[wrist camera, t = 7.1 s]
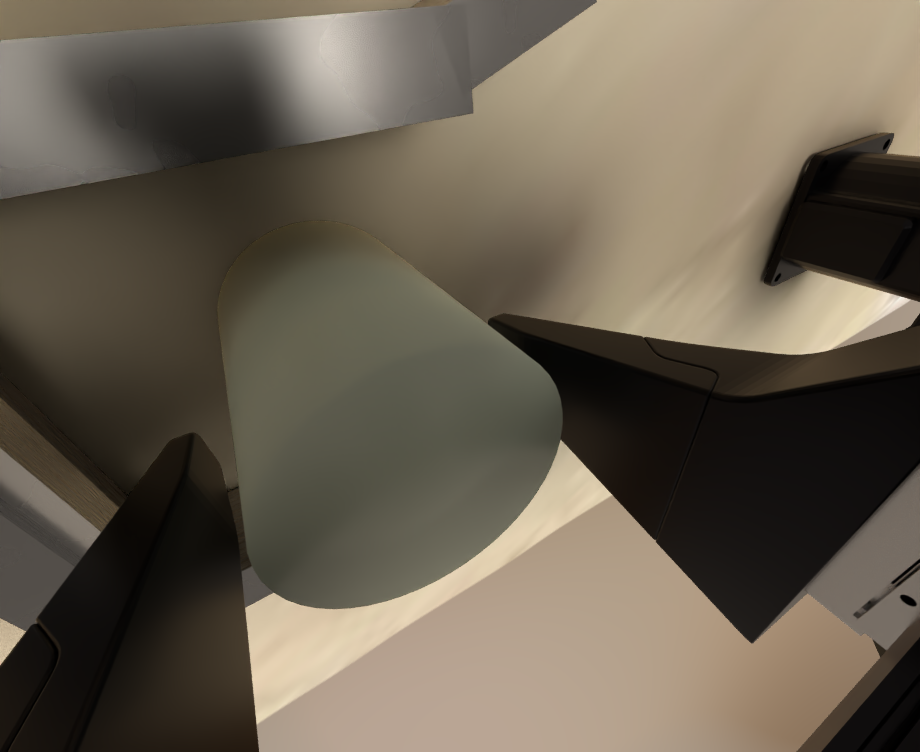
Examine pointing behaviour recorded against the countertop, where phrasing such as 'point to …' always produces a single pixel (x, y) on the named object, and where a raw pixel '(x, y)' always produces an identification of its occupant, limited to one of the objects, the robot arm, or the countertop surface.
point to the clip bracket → (196, 141)
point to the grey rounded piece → (371, 418)
